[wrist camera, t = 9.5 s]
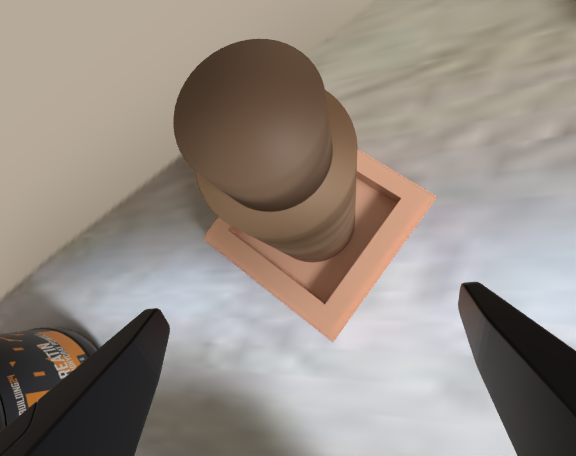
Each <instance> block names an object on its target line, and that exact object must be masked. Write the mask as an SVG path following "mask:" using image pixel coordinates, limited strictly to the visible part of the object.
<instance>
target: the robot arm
mask: <svg viewBox="0 0 576 456" xmlns="http://www.w3.org/2000/svg"><path fill="white" fill-rule="evenodd" d="M458 308H459V313H460V316H461V319H462V322H463V325H464V328H465V331H466V335H467V338H468V341H469V344H470V347H471V350H472V353H473V356H474V359H475V362H476V365H477V367H478V370H479V372H480V374H481V376H482V379H483V381H484V383H485V385H486V387H487V390H488V392H489V394H490V396H491V398H492V401H493V403H494V405H495V407H496V409H497V412H498V414H499V416H500V418H501V420H502V423H503V425H504V427H505V429H506V431H507V434H508V436H509V438H510V440H511V442H512V445H513V447H514V449H515V451H516V454H517V456H576V351H575V350H574V349H572V348H571V347H570V346H568V345H567V344H565V343H564V342H563V341H561V340H560V339H558V338H557V337H556V336H554V335H553V334H551V333H550V332H549V331H547V330H546V329H544V328H543V327H541V326H540V325H539V324H537V323H536V322H534V321H533V320H532V319H530V318H529V317H527V316H526V315H525V314H523V313H522V312H520V311H519V310H518V309H516V308H515V307H513V306H512V305H510V304H509V303H508V302H506V301H505V300H503V299H502V298H501V297H499V296H498V295H496V294H495V293H494V292H492V291H491V290H489V289H488V288H486V287H485V286H484V285H482V284H481V283H479V282H467V283H462V284H461V287H460V294H459V301H458ZM169 333H170V327H169V324H168V322H167V320H166V319H165V317H164V315H163V314H162V312H161V310H159V309H157V308H154V309H146V310H144V311H143V312H142V313H141V314H139V315H138V316H137V317H136V318H135V319H133V320H132V321H131V322H130V323H129V324H128V325H126V326H125V327H124V328H123V329H122V330H120V331H119V332H118V333H117V334H116V335H114V336H113V337H112V338H111V339H110V340H109V341H107V342H106V343H105V344H104V345H103V346H101V347H100V348H99V349H98V350H97V351H95V352H94V353H93V354H92V355H91V356H90V357H88V358H87V359H86V360H85V361H84V362H82V363H81V364H80V365H79V366H78V367H76V368H75V369H74V370H73V371H72V372H71V373H69V374H68V375H67V376H66V377H65V378H63V379H62V380H61V381H60V382H59V383H57V384H56V385H55V386H54V387H53V388H52V389H50V390H49V391H48V392H47V393H46V394H44V395H43V396H42V397H41V398H40V399H39V400H38V402H35V403H34V404H32V405H31V406H30V407H29V408H28V409H27V410H25V411H24V412H23V413H22V414H21V415H19V416H18V417H17V418H16V419H15V420H13V421H12V422H11V423H10V424H8V425H7V426H6V427H5V428H4V429H2V430H1V431H0V456H134V454H135V451H136V448H137V445H138V442H139V439H140V436H141V433H142V430H143V427H144V424H145V421H146V418H147V415H148V412H149V409H150V406H151V403H152V400H153V397H154V394H155V390H156V387H157V384H158V381H159V377H160V374H161V369H162V365H163V360H164V356H165V351H166V347H167V342H168V338H169Z"/></svg>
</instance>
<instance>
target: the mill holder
mask: <svg viewBox="0 0 576 456" xmlns="http://www.w3.org/2000/svg"><path fill="white" fill-rule="evenodd" d="M436 198H437V196H435V195H434V194H432V193H430V192H428V191H427V190H425V189H423V188H422V187H420V186H418V185H417V184H415V183H413V182H412V181H410V180H408V179H407V178H405V177H403V176H402V175H400V174H398V173H396V172H395V171H393V170H391V169H390V168H388V167H386V166H385V165H383V164H381V163H380V162H378V161H376V160H375V159H373V158H371V157H370V156H368V155H366V154H365V153H363V152H361V151H359V150H358V149H357V178H356V207H355V227H354V231H353V235H352V237H351V239H350V241H349V243H348V244H347V246H346V247H345V248H344V249H343V250H342V251H341V252H340V253H339V254H337V255H336V256H334V257H332V258H330V259H328V260H325V261H321V262H304V261H300V260H297V259H295V258H293V257H291V256H289V255H287V254H285V253H283V252H281V251H279V250H277V249H275V248H273V247H271V246H269V245H267V244H265V243H263V242H261V241H260V240H258V239H256V238H254V237H252V236H250V235H248V234H246V233H244V232H242V231H240V230H238V229H236V228H234V227H232V226H230V225H229V224H227V223H226V222H224V221H223V220H222V219H221V218H219V217H218V218H217V219H216V221H215V222H214V223H213V225H212V226H211V227H210V229H209V230H208V231H207V233H206V236H205V238H204V240H205V241H206V242H208V243H209V244H210V245H211V246H213V247H214V248H215V249H216V250H218V251H219V252H220V253H222V254H223V255H224V256H225V257H227V258H228V259H229V260H230V261H232V262H233V263H234V264H235V265H237V266H238V267H239V268H240V269H242V270H243V271H244V272H245V273H247V274H248V275H249V276H250V277H252V278H253V279H254V280H255V281H257V282H258V283H259V284H260V285H262V286H263V287H264V288H265V289H267V290H268V291H269V292H270V293H272V294H273V295H274V296H275V297H277V298H278V299H279V300H280V301H282V302H283V303H284V304H285V305H287V306H288V307H289V308H290V309H292V310H293V311H294V312H295V313H297V314H298V315H299V316H300V317H302V318H303V319H304V320H306V321H307V322H308V323H309V324H311V325H312V326H313V327H314V328H316V329H317V330H318V331H319V332H321V333H322V334H323V335H324V336H326V337H327V338H328V339H329V340H331V341H332V342H334V340H335V339H336V338H337V336H338V335H339V333H340V332H341V331H342V329H343V328H344V326H345V325H346V324H347V322H348V321H349V319H350V318H351V317H352V315H353V314H354V312H355V311H356V310H357V308H358V307H359V305H360V304H361V303H362V301H363V300H364V298H365V297H366V296H367V294H368V293H369V292H370V290H371V289H372V287H373V286H374V285H375V283H376V282H377V280H378V279H379V278H380V276H381V275H382V273H383V272H384V271H385V269H386V268H387V266H388V265H389V264H390V262H391V261H392V259H393V258H394V257H395V255H396V254H397V252H398V251H399V250H400V248H401V247H402V245H403V244H404V243H405V241H406V240H407V238H408V237H409V236H410V234H411V233H412V231H413V230H414V229H415V227H416V226H417V224H418V223H419V222H420V220H421V219H422V217H423V216H424V215H425V213H426V212H427V210H428V209H429V208H430V206H431V205H432V203H433V202H434V201H435V199H436Z"/></svg>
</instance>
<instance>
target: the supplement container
mask: <svg viewBox="0 0 576 456" xmlns="http://www.w3.org/2000/svg"><path fill="white" fill-rule="evenodd" d="M95 351H97V349H96V348H95V346H94V345H93V344H92V343H91V342H90V341H89V340H87V339H86V338H85V337H83V336H82V335H80V334H78V333H76V332H74V331H71V330H68V329H64V328H58V327H42V328H35V329H31V330H27V331H21V332H14V333H6V334H0V431H1V430H2V429H4V428H5V427H6V426H7V425H8V424H10V423H11V422H12V421H13V420H15V419H16V418H17V417H18V416H19V415H21V414H22V413H23V412H24V411H25V410H27V409H28V408H29V407H30V406H31V405H32V404H34V403H35V402H38V400H39V399H40V398H41V397H42V396H43V395H44V394H46V393H47V392H48V391H49V390H50V389H52V388H53V387H54V386H55V385H56V384H57V383H59V382H60V381H61V380H62V379H63V378H65V377H66V376H67V375H68V374H69V373H71V372H72V371H73V370H74V369H75V368H76V367H78V366H79V365H80V364H81V363H82V362H84V361H85V360H86V359H87V358H88V357H90V356H91V355H92V354H93V353H94V352H95Z"/></svg>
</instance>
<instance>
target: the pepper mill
mask: <svg viewBox="0 0 576 456" xmlns="http://www.w3.org/2000/svg"><path fill="white" fill-rule="evenodd" d="M174 133H175V138H176V141H177V145H178V147H179V150H180V152H181V153H182V155H183V157H184V158H185V160H186V161H187V162H188V163H189V165H190V166H191V167H192V168H193V169H194V170H196V177H197V181H198V185H199V188H200V191H201V193H202V195H203V198H204V199H205V201H206V203H207V204H208V206H209V207H210V208H211V209H212V211H213V212H214V213H215V214H216V215H217V216H218V217H219V218H221V219H222V220H223V221H224V222H226V223H227V224H229V225H230V226H232V227H234V228H236V229H238V230H240V231H242V232H244V233H246V234H248V235H250V236H252V237H254V238H256V239H258V240H260V241H261V242H263V243H265V244H267V245H269V246H271V247H273V248H275V249H277V250H279V251H281V252H283V253H285V254H287V255H289V256H291V257H293V258H295V259H297V260H300V261H304V262H321V261H325V260H328V259H330V258H332V257H334V256H336V255H337V254H339V253H340V252H341V251H342V250H343V249H344V248H345V247H346V246H347V244H348V243H349V241H350V239H351V237H352V235H353V231H354V227H355V207H356V178H357V148H358V147H357V138H356V133H355V129H354V126H353V123H352V121H351V119H350V117H349V115H348V113H347V112H346V110H345V108H344V107H343V106H342V105H341V103H340V102H339V101H338V100H337V99H336V98H335V97H334V96H333V95H331V94H330V93H329V92H327V91H326V90H325V89H324V85H323V81H322V79H321V76H320V74H319V72H318V70H317V69H316V67H315V65H314V64H313V63H312V62H311V61H310V59H309V58H308V57H306V56H305V55H304V54H303V53H302V52H300V51H299V50H297V49H296V48H294V47H292V46H290V45H288V44H286V43H282V42H279V41H275V40H269V39H251V40H245V41H240V42H237V43H234V44H230V45H228V46H226V47H224V48H221V49H220V50H218V51H216V52H214V53H213V54H211V55H210V56H209V57H208V58H206V59H205V60H204V61H203V62H201V63H200V64H199V65H198V66H197V67H196V69H195V70H194V71H193V72H192V73H191V74H190V76H189V77H188V79H187V80H186V81H185V83H184V85H183V87H182V89H181V91H180V94H179V97H178V99H177V103H176V106H175V111H174Z"/></svg>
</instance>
